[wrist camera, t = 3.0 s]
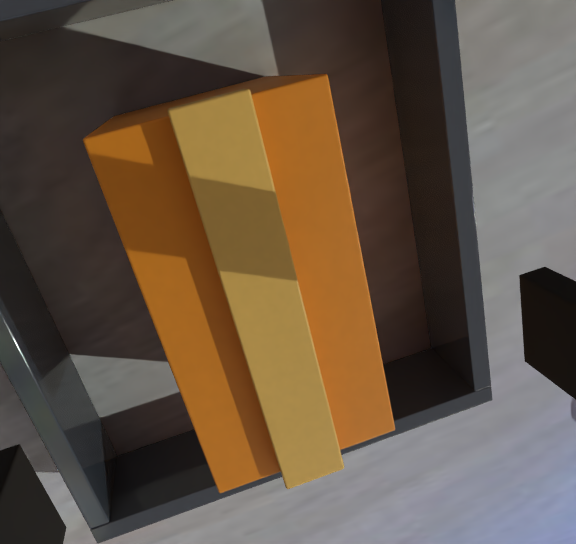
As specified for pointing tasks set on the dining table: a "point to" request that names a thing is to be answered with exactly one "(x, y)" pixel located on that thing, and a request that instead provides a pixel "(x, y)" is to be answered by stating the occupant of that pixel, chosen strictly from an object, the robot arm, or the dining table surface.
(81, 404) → the rectangular frame
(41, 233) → the dining table surface
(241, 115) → the orange striped block
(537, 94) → the dining table surface
